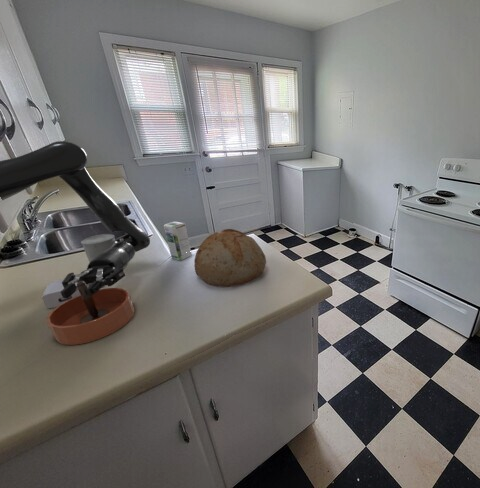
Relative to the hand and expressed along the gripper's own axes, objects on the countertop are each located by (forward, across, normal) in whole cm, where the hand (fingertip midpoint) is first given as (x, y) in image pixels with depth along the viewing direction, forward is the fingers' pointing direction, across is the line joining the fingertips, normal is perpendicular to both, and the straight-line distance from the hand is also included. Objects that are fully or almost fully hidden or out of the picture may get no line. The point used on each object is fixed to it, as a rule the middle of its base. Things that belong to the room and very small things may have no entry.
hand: (76, 293), depth 68 cm
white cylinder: (-37, -12, +11) cm, 40 cm away
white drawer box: (-21, -16, +11) cm, 29 cm away
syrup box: (-41, +12, +11) cm, 44 cm away
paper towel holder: (-3, 0, +10) cm, 11 cm away
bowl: (-3, 0, +11) cm, 11 cm away
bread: (-24, +34, +11) cm, 43 cm away
